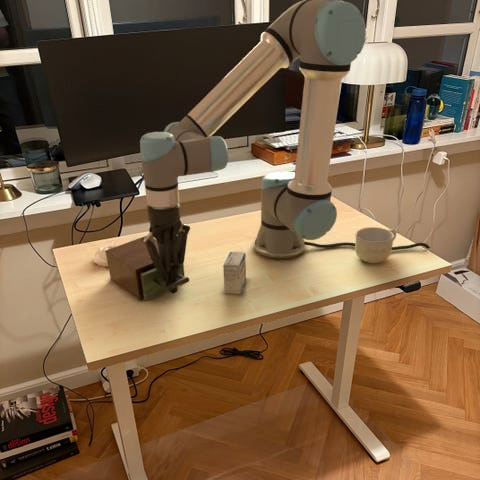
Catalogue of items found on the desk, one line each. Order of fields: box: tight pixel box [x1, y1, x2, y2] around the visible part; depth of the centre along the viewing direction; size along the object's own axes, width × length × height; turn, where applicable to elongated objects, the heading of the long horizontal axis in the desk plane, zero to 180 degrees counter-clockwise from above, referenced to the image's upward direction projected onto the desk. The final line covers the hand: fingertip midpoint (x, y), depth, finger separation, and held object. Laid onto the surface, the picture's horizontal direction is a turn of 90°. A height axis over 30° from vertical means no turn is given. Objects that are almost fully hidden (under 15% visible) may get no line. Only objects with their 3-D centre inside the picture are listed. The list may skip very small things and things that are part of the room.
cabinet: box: [105, 235, 159, 302], centre depth 133 cm, size 15×14×9 cm
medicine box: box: [222, 251, 247, 295], centre depth 130 cm, size 8×4×9 cm, turn 168°
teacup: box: [354, 227, 397, 264], centre depth 143 cm, size 14×11×8 cm
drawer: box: [139, 263, 190, 301], centre depth 130 cm, size 20×13×7 cm, turn 43°
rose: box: [93, 245, 117, 268], centre depth 145 cm, size 10×4×10 cm
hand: (172, 290), depth 127 cm, fingers closed
